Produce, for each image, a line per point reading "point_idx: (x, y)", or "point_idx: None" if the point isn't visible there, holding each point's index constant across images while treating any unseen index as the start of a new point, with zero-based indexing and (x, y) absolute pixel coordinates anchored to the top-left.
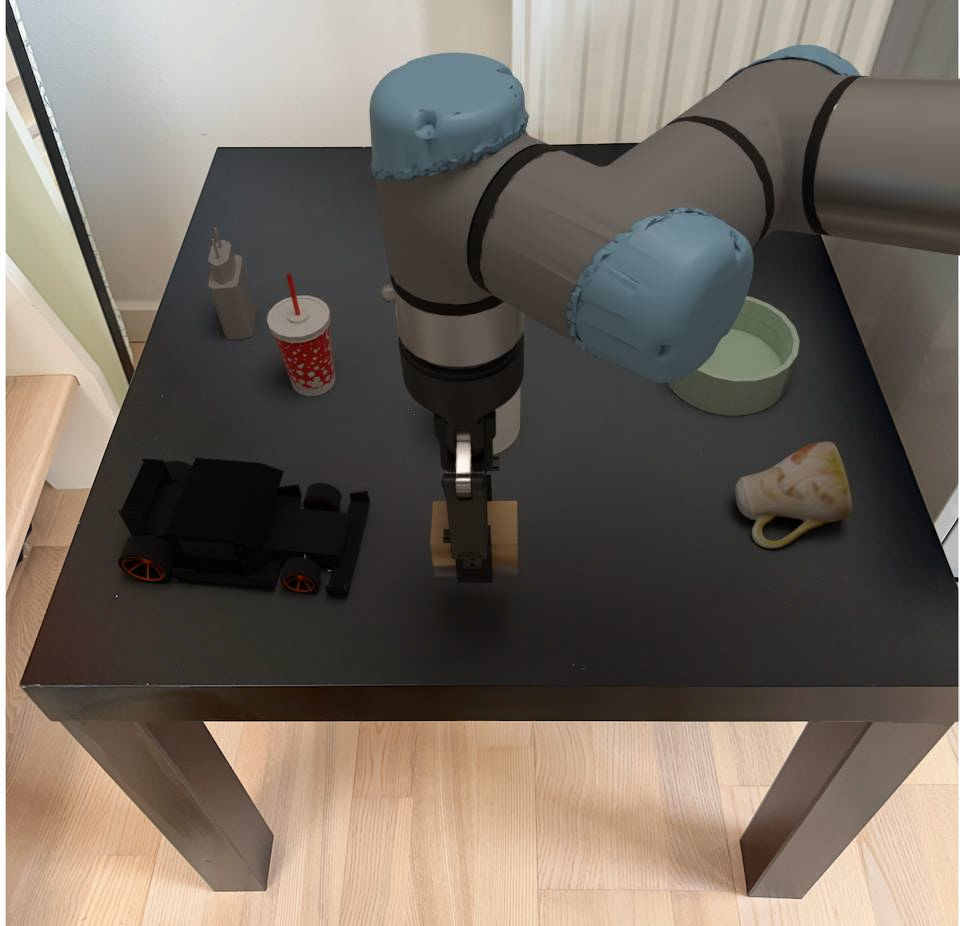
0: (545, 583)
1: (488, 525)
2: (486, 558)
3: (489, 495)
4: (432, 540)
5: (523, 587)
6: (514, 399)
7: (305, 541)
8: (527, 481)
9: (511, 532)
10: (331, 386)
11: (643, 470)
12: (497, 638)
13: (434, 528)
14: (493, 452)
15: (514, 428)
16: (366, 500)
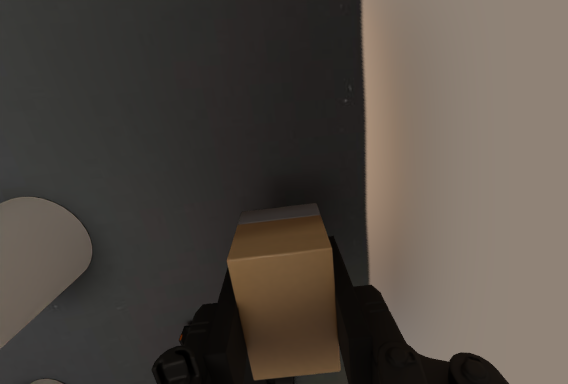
0: (246, 142)
1: (350, 343)
2: (491, 366)
3: (234, 318)
4: (334, 370)
5: (255, 165)
6: None
7: (252, 375)
8: (105, 177)
9: (306, 260)
10: (51, 381)
11: (28, 17)
12: (320, 184)
13: (310, 371)
14: (76, 222)
15: (28, 209)
16: (185, 330)
